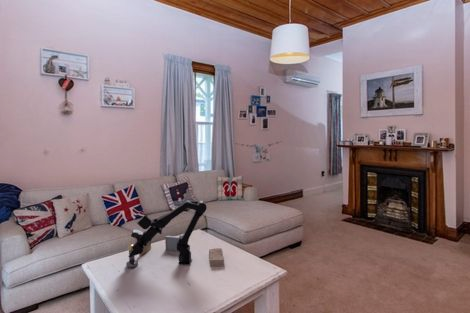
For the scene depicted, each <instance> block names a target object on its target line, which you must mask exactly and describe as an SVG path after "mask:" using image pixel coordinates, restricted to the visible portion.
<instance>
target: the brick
mask: <svg viewBox="0 0 470 313" xmlns="http://www.w3.org/2000/svg"><path fill="white" fill-rule="evenodd" d="M208 256H209V257H208V258H209V266H210V268H220V267H224V266H225V257H224V252H223V248H221V247H216V248H211V249H208Z"/></svg>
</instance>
